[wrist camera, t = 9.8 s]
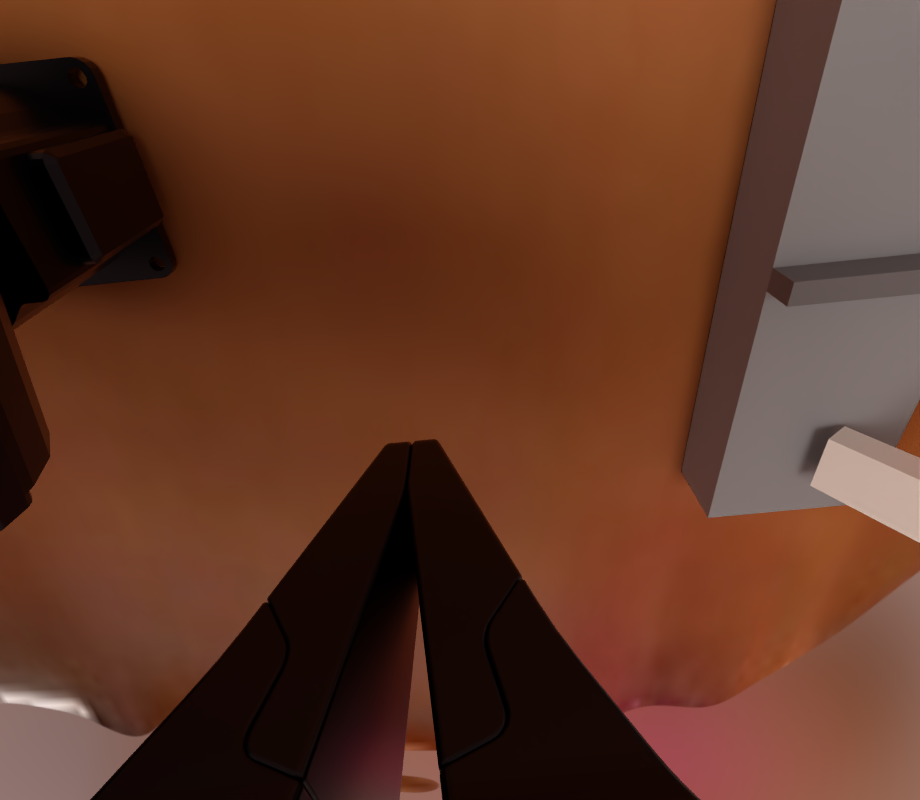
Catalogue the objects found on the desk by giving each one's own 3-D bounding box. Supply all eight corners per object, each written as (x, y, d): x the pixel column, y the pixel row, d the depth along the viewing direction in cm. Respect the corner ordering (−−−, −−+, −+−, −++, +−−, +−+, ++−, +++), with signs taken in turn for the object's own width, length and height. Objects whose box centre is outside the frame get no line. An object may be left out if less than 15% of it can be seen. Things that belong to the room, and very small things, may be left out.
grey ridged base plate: (681, 471, 26) (720, 539, 22) (814, -184, 13) (951, -265, 10) (825, 457, 25) (887, 523, 22) (1097, -215, 13) (1338, -308, 10)
